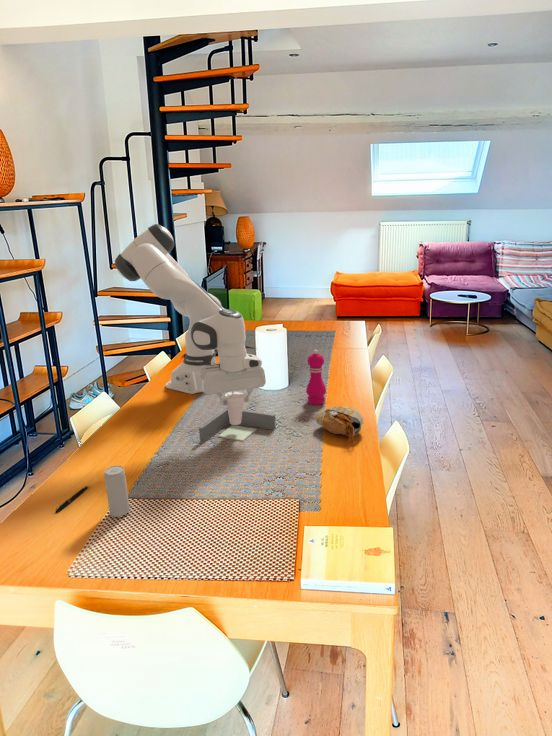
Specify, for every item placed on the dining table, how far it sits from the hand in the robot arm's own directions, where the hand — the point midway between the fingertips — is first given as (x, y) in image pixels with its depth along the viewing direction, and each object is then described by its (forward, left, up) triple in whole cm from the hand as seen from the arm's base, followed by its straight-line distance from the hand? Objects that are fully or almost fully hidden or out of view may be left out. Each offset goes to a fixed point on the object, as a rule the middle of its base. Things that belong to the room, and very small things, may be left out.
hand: (235, 403), depth 178 cm
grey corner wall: (+1, -1, -11) cm, 11 cm away
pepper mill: (+14, +35, -11) cm, 39 cm away
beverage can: (-5, -52, -11) cm, 53 cm away
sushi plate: (-55, +89, -11) cm, 105 cm away
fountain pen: (-21, -51, -11) cm, 56 cm away
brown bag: (+32, +11, -11) cm, 35 cm away
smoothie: (0, 0, -7) cm, 7 cm away
